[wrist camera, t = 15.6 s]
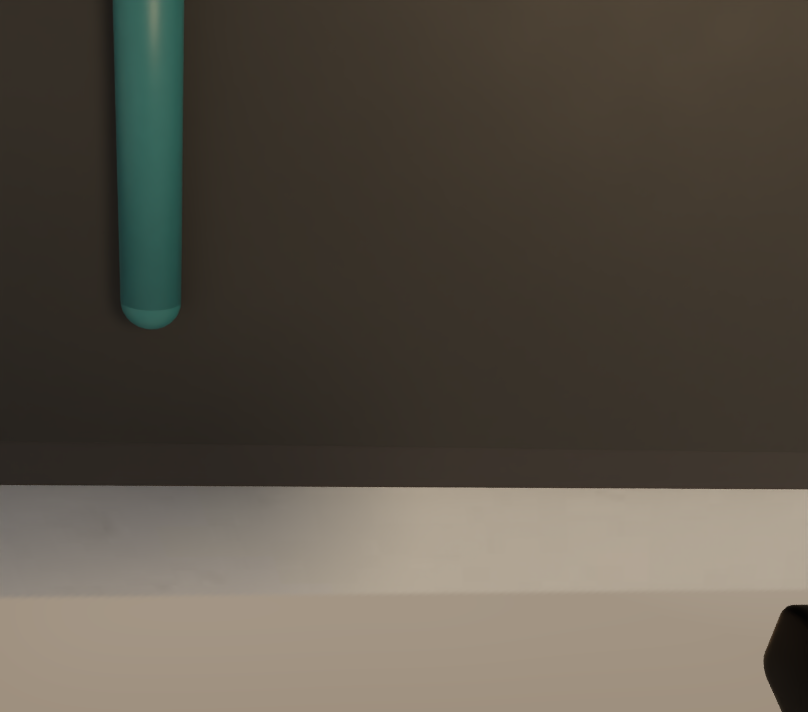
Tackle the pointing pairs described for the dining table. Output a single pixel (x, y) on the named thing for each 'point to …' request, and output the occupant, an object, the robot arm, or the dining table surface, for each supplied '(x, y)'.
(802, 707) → the robot arm
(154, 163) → the stylus
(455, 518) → the dining table surface
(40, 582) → the dining table surface
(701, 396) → the tablet
